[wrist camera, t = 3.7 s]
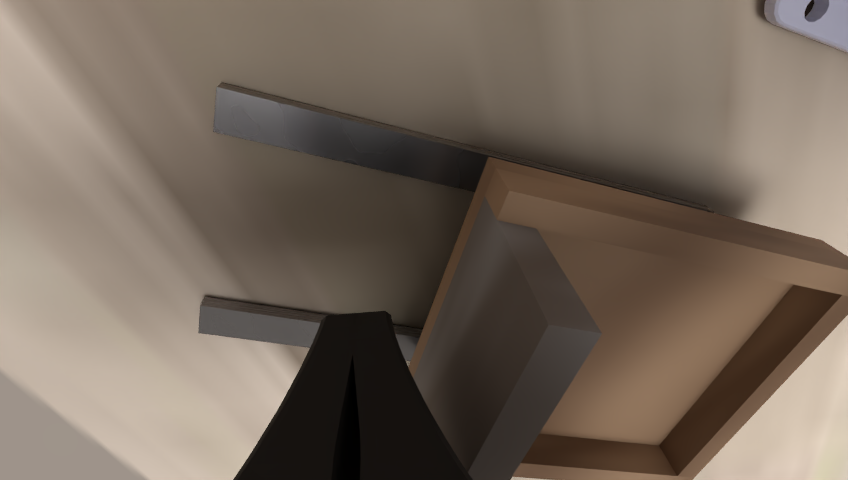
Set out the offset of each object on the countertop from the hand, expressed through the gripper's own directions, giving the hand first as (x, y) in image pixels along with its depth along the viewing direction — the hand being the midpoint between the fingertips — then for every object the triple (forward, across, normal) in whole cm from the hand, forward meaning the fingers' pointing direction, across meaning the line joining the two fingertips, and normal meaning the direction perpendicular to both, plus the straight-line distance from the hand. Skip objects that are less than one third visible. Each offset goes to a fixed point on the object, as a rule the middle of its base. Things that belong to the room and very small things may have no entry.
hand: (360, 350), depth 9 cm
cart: (+4, -6, +2) cm, 7 cm away
